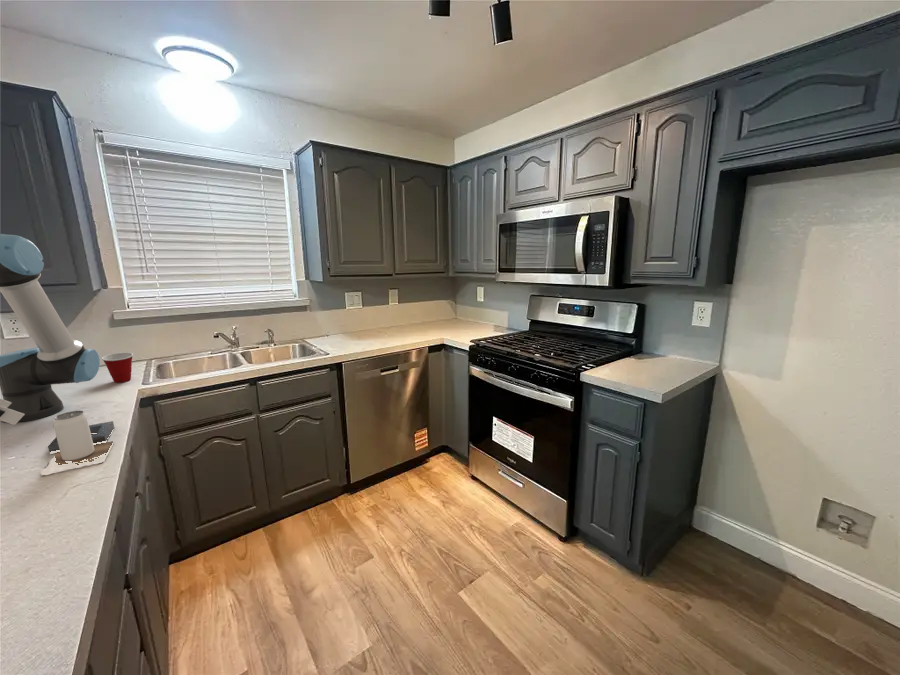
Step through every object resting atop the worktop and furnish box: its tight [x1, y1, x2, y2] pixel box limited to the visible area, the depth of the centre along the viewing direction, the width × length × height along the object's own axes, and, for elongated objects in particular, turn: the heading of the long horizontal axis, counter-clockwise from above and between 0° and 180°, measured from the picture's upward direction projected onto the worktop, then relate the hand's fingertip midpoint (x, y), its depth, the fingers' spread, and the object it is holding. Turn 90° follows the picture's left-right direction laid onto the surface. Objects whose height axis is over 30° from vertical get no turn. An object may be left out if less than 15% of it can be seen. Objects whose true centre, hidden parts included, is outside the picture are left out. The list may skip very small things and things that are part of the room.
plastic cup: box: [101, 352, 134, 384], centre depth 168 cm, size 11×11×12 cm
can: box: [53, 410, 94, 461], centre depth 102 cm, size 6×6×12 cm
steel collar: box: [47, 420, 115, 452], centre depth 114 cm, size 12×12×2 cm
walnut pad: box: [53, 440, 114, 465], centre depth 104 cm, size 12×12×1 cm
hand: (13, 413), depth 92 cm, fingers open, 13 cm apart
